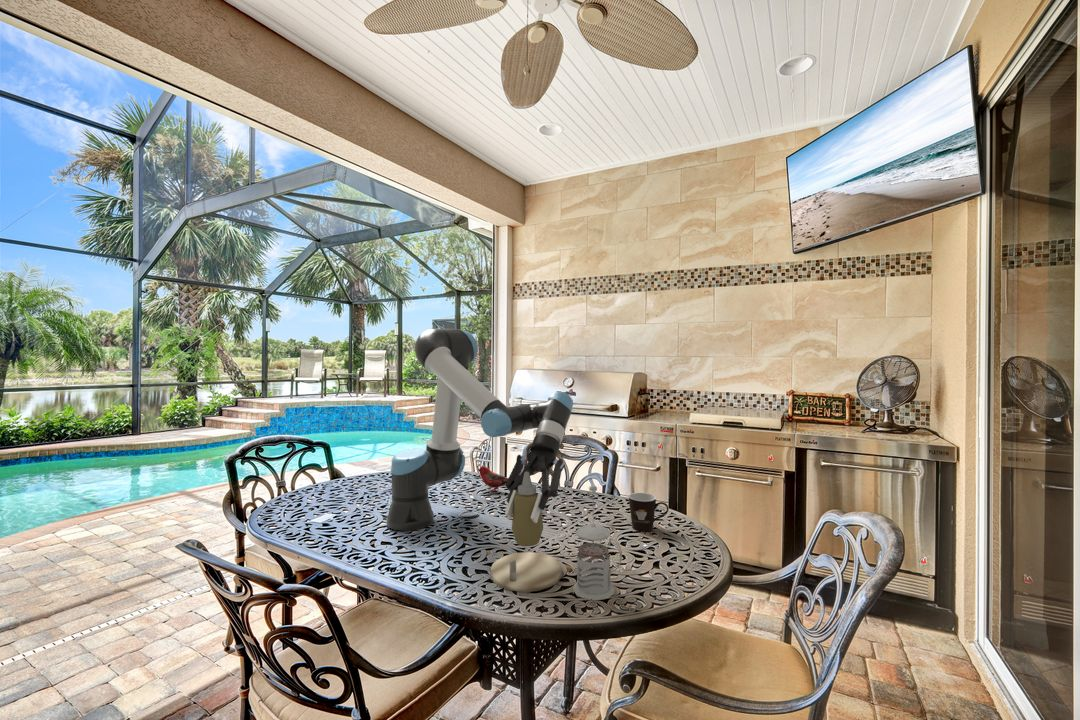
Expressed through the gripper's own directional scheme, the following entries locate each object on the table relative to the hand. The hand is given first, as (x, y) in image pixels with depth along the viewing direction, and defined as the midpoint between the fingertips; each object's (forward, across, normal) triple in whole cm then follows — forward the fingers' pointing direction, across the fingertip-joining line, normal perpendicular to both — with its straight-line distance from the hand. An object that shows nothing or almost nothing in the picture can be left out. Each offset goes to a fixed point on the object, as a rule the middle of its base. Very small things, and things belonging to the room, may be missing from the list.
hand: (520, 518), depth 117 cm
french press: (+9, -18, -14) cm, 25 cm away
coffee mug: (-21, -20, -44) cm, 52 cm away
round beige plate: (+8, 0, -14) cm, 16 cm away
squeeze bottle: (+3, 0, -8) cm, 8 cm away
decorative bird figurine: (-31, +42, -53) cm, 75 cm away
